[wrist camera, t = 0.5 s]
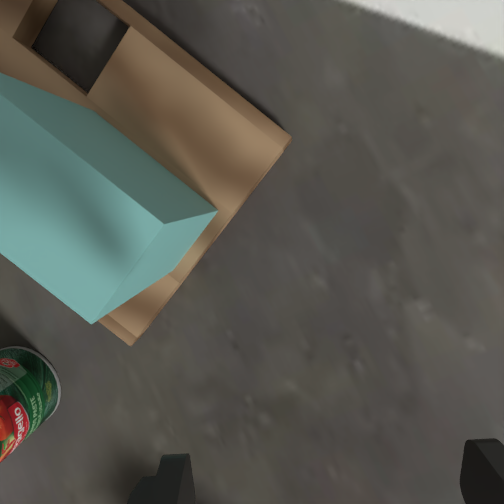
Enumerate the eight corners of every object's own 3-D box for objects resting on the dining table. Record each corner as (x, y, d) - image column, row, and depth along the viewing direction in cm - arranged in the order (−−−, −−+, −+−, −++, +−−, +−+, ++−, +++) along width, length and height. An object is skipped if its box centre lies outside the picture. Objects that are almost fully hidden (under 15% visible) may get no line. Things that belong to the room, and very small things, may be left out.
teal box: (93, 110, 28) (-55, 50, 16) (218, 210, 28) (164, 224, 16) (52, 175, 29) (-114, 163, 17) (173, 270, 29) (91, 324, 17)
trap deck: (-60, -143, 28) (-135, -214, 23) (291, 140, 28) (291, 130, 23) (-169, 93, 32) (-253, 75, 27) (140, 337, 32) (113, 363, 27)
